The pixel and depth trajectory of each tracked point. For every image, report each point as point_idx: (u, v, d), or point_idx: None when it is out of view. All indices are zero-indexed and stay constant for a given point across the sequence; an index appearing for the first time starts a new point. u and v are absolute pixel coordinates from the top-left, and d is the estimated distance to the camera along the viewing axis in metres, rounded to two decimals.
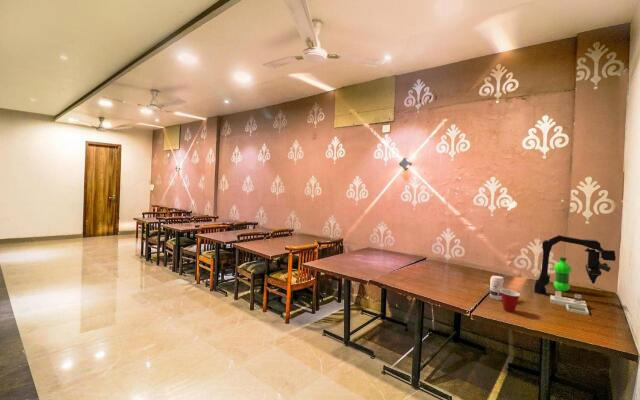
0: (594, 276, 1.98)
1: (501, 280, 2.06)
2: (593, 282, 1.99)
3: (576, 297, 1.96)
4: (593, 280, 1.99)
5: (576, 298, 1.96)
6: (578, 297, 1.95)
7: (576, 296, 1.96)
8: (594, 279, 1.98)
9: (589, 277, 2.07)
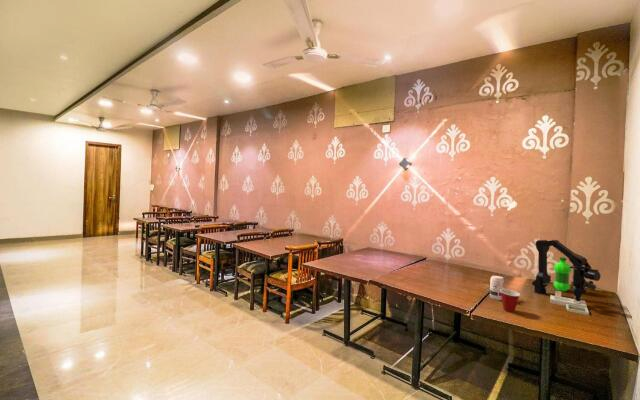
0: (579, 293, 1.94)
1: (501, 280, 2.06)
2: (578, 299, 1.95)
3: None
4: (578, 297, 1.94)
5: None
6: None
7: None
8: (579, 296, 1.94)
9: None
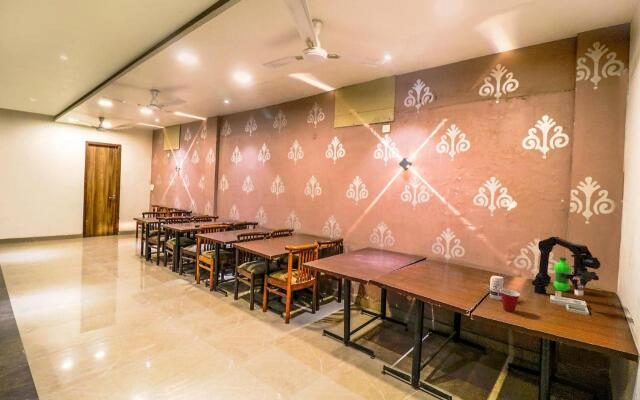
0: (574, 281, 1.91)
1: (501, 280, 2.06)
2: (575, 288, 1.91)
3: None
4: (574, 286, 1.91)
5: None
6: None
7: None
8: (574, 285, 1.91)
9: None
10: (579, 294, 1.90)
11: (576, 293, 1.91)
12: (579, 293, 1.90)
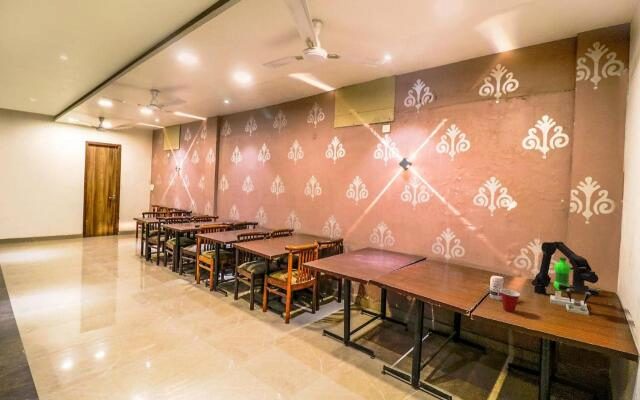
0: None
1: (501, 280, 2.06)
2: None
3: (574, 301, 1.90)
4: (569, 298, 1.91)
5: None
6: (574, 301, 1.89)
7: (574, 300, 1.90)
8: None
9: None
10: (575, 309, 1.88)
11: None
12: (575, 308, 1.88)
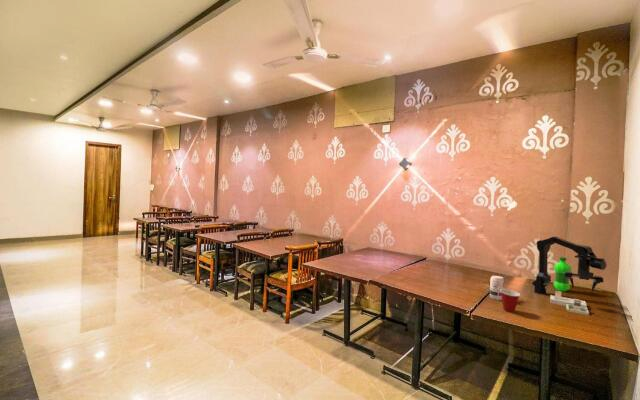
0: None
1: (501, 280, 2.06)
2: (572, 286, 1.99)
3: (574, 301, 1.90)
4: None
5: None
6: (574, 301, 1.89)
7: (574, 300, 1.90)
8: (571, 283, 1.99)
9: None
10: (575, 309, 1.88)
11: None
12: (575, 308, 1.88)
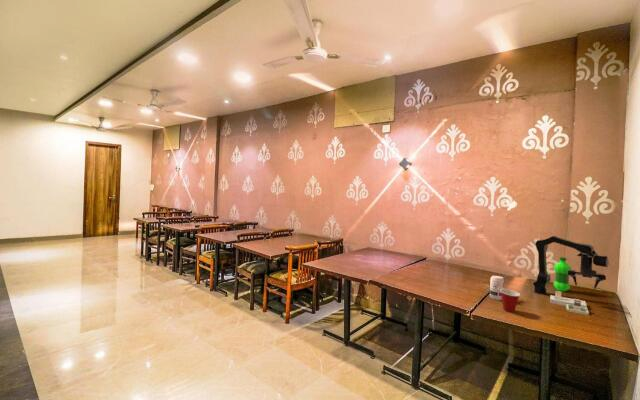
0: None
1: (501, 280, 2.06)
2: (575, 284, 2.02)
3: (574, 301, 1.90)
4: None
5: None
6: (574, 301, 1.89)
7: (574, 300, 1.90)
8: (574, 281, 2.02)
9: (594, 285, 1.98)
10: (575, 309, 1.88)
11: None
12: (575, 308, 1.88)
